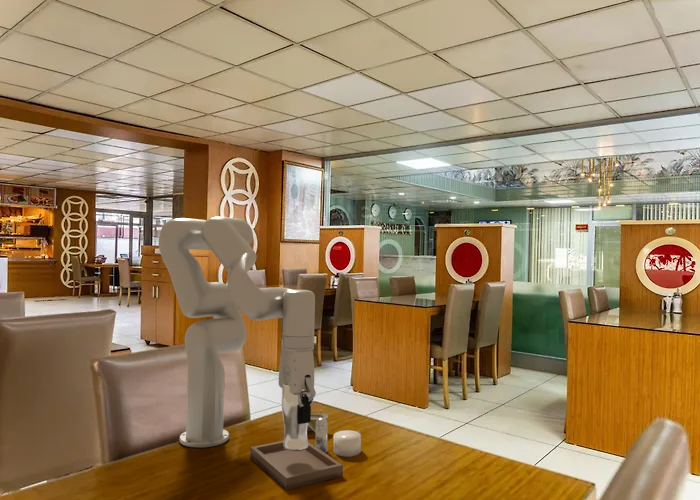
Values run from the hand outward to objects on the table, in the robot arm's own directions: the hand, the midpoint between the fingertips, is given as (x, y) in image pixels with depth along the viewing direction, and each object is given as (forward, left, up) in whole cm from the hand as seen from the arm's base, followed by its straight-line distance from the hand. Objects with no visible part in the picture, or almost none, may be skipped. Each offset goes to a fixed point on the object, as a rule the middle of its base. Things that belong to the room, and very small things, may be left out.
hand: (296, 417), depth 121 cm
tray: (0, 0, -11) cm, 11 cm away
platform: (-19, +14, -12) cm, 27 cm away
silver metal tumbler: (0, 0, -7) cm, 7 cm away
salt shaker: (-5, +10, -11) cm, 16 cm away
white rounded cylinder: (-2, +16, -11) cm, 20 cm away
